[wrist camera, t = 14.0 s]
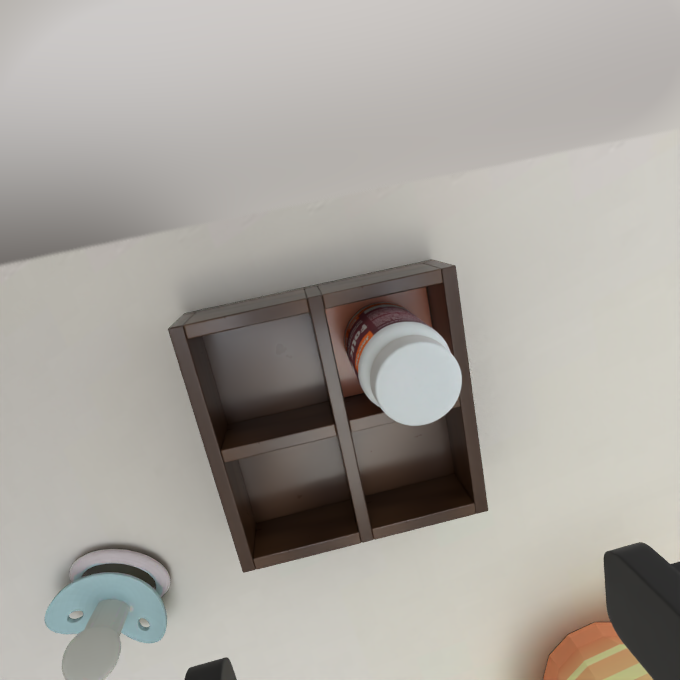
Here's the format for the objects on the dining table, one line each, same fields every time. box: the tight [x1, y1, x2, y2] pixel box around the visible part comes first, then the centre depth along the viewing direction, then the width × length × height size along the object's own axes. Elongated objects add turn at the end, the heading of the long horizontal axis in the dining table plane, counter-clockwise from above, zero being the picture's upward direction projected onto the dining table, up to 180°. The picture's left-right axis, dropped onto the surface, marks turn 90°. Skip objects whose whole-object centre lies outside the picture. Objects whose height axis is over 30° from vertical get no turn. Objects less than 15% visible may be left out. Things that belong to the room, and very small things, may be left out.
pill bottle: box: [344, 302, 462, 426], centre depth 25 cm, size 5×5×8 cm
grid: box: [168, 260, 488, 572], centre depth 28 cm, size 15×15×4 cm
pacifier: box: [45, 549, 170, 680], centre depth 29 cm, size 7×6×6 cm
